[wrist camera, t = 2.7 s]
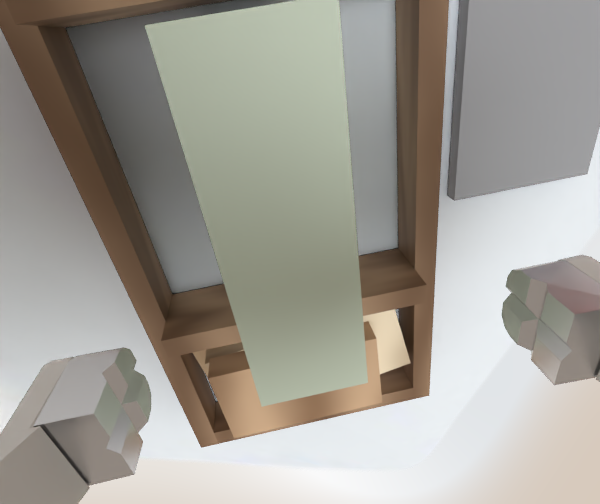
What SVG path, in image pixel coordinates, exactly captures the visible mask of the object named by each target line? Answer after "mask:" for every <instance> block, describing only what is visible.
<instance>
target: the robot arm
mask: <svg viewBox="0 0 600 504" xmlns="http://www.w3.org/2000/svg"><path fill="white" fill-rule="evenodd" d="M506 287H507V288H508V289H509V291H510V292H511V294H510V295H509V296H508V298H507V299H506V300H505V301H504V302H503V309H502V318H503V322H504V326H505V328H506V330H507V332H508V334H509V335H510V337H511V338H512V339H513V340H514V341H515V342H516V343H517V344H518V345H520V346H522V347H524V348H526V349H529V350H531V360H532V361H533V362H534V364H535V365H536V366H537V367H538V368H539V369H540V370H541V371H542V372H543V373H544V375H545V376H546V377H547V378H548V379H549V380H550V381H551V382H552V383H553V384H554V385H557V384H562V383H568V382H573V381H578V380H584V379H589V378H595V377H597V378H596V380H598V381H600V262H598V261H597V260H595V259H593V258H592V257H589V256H584V255H579V256H574V257H570V258H565V259H561V260H558V261H555V262H550V263H545V264H540V265H535V266H530V267H525V268H520V269H516V270H512V271H511V272H510V274H509V275H508V278H507V283H506ZM135 364H136V359H135V357H134V356H133V354H132V352H131V350H130V349H127V348H119V349H113V350H107V351H102V352H96V353H90V354H85V355H79V356H75V357H70V358H64V359H59V360H53V361H50V362H49V363H47V364H45V365H44V366H43V367H42V369H41V370H40V372H39V374H38V375H37V377H36V378H35V380H34V382H33V383H32V385H31V386H30V388H29V390H28V391H27V393H26V394H25V396H24V398H23V399H22V401H21V402H20V404H19V405H18V407H17V409H16V410H15V412H14V413H13V415H12V417H11V418H10V420H9V421H8V423H7V425H6V426H5V428H4V429H3V431H2V433H1V434H0V504H78V503H79V501H80V500H81V499H82V498H83V496H84V495H85V494H86V492H87V491H88V489H89V485H93V484H97V483H101V482H105V481H110V480H113V479H118V478H122V477H126V476H130V475H134V474H135V470H136V466H137V462H138V459H139V455H140V451H141V447H142V443H143V441H142V439H141V437H140V436H139V434H138V432H139V431H140V430H141V429H142V428H143V426H144V425H145V424H146V423H147V422H148V419H149V415H150V411H151V392H150V389H149V385H148V382H147V380H146V378H145V376H144V375H142V374H140V373H138V372H137V371H135V370H134V367H135Z"/></svg>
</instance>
